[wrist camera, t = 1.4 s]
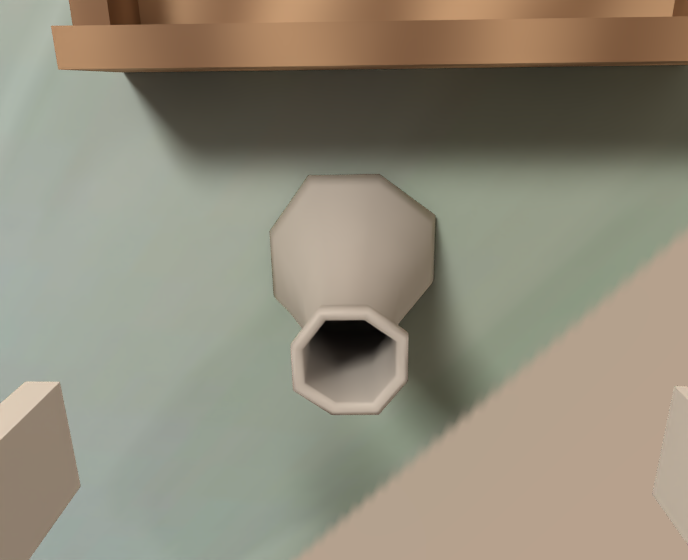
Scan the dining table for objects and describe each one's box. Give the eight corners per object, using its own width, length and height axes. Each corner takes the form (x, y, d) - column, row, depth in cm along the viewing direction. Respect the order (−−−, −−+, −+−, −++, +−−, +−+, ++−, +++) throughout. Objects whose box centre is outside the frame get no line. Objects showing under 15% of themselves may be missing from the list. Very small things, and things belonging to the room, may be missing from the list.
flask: (404, 351, 26) (432, 508, 16) (249, 305, 25) (184, 441, 16) (463, 199, 23) (535, 279, 14) (293, 145, 23) (248, 190, 13)
